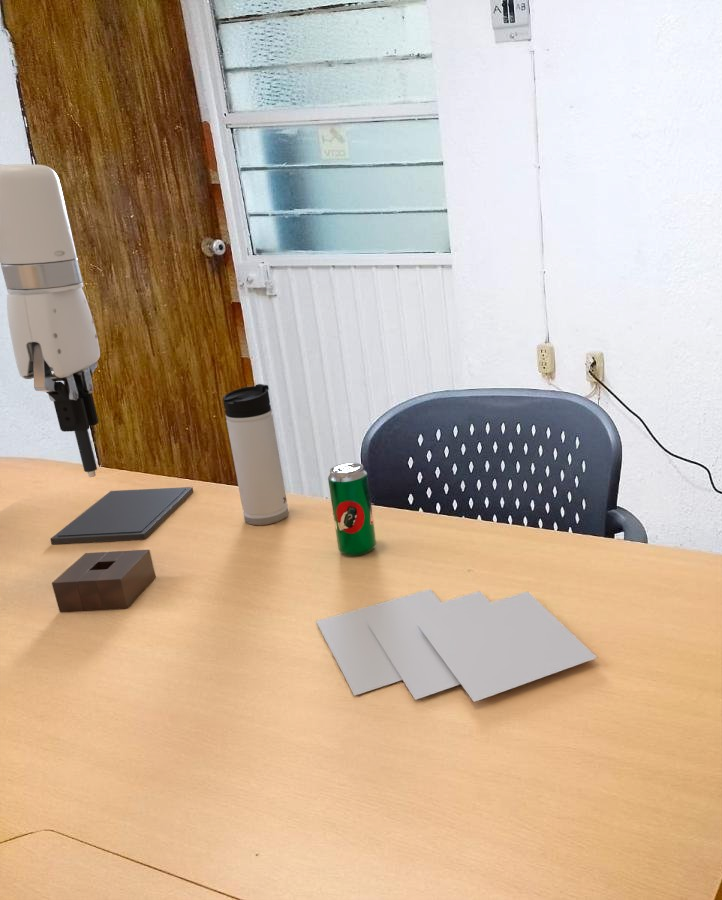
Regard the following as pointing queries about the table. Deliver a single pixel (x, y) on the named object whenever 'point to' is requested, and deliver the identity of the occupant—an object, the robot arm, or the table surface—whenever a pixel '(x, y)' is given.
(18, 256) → the robot arm
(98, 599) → the holder
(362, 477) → the soda can
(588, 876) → the table surface
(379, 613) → the paper stack
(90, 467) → the stylus
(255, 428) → the travel mug
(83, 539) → the tablet
